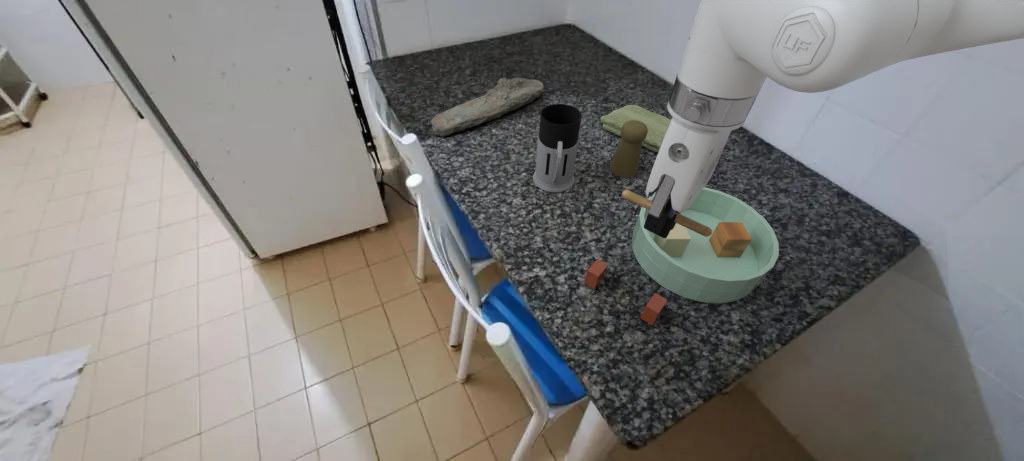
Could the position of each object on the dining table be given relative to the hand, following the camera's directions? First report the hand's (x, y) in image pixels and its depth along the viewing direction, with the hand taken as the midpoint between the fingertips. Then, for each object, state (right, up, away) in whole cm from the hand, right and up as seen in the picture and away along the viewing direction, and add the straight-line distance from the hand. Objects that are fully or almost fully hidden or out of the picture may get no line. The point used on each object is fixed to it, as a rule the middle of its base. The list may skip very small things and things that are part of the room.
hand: (658, 227), depth 52 cm
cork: (+5, +13, +33) cm, 36 cm away
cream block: (+8, -3, +16) cm, 18 cm away
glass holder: (-11, +9, +28) cm, 32 cm away
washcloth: (+12, +24, +43) cm, 51 cm away
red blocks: (-2, -11, +10) cm, 15 cm away
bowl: (+13, -4, +17) cm, 21 cm away
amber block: (+18, -3, +16) cm, 24 cm away
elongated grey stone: (-25, +30, +49) cm, 63 cm away
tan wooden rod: (0, +2, -2) cm, 3 cm away
